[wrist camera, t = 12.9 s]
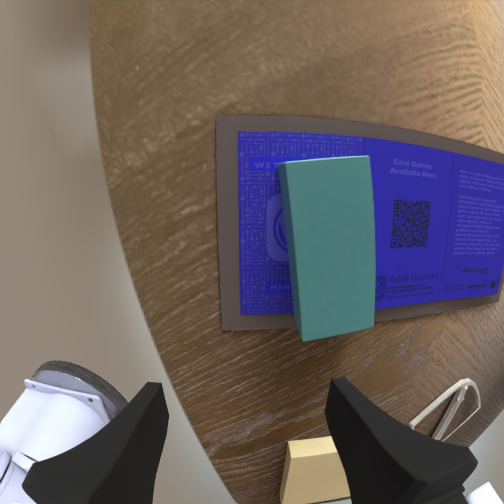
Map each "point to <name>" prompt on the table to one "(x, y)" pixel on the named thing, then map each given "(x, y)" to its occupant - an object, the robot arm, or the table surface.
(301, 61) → the table surface
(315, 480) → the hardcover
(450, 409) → the crossbow
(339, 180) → the teal rectangular block
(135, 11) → the table surface
